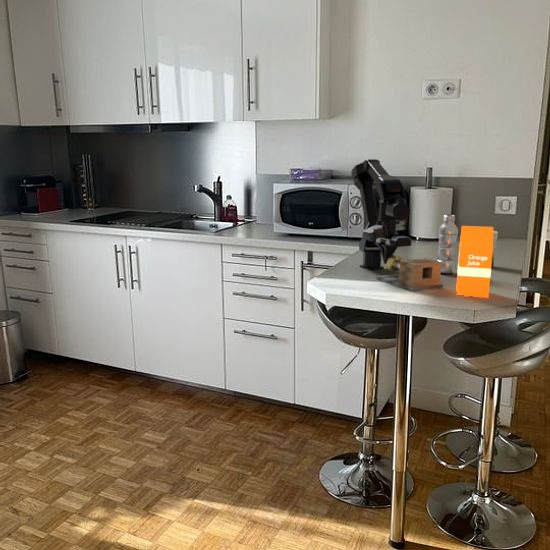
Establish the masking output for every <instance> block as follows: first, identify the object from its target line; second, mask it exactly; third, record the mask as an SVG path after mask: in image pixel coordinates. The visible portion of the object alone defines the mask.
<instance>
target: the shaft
mask: <svg viewBox="0 0 550 550" xmlns="http://www.w3.org/2000/svg"><path fill="white" fill-rule="evenodd" d="M402 260H403V259H402V258H401V256H399V255H395V254H393V255H392V256H390V257H389V258H388V260H387V264H386V268H387V269H388V270H389V271H390V272H400V261H402Z"/></svg>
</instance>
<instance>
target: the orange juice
mask: <svg viewBox="0 0 550 550" xmlns="http://www.w3.org/2000/svg"><path fill="white" fill-rule="evenodd" d="M460 230H461V231H460V241H459V249H458V262H457V273H456V274H457V275H456V276H457V277H456V286H455V287H456V288H455V292H457V294H456V296H457V295H464V296H463V297H469V296H473V298H483V297H484V298H486V299H489V295H490V293H489V292H490V283H491V274H492V267H491V264H492V253H493V254H494V252H493V251H494V250H493V231H494V227H493V226H478V225H477V226H476V225H461V229H460ZM484 298H483V299H484Z"/></svg>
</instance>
